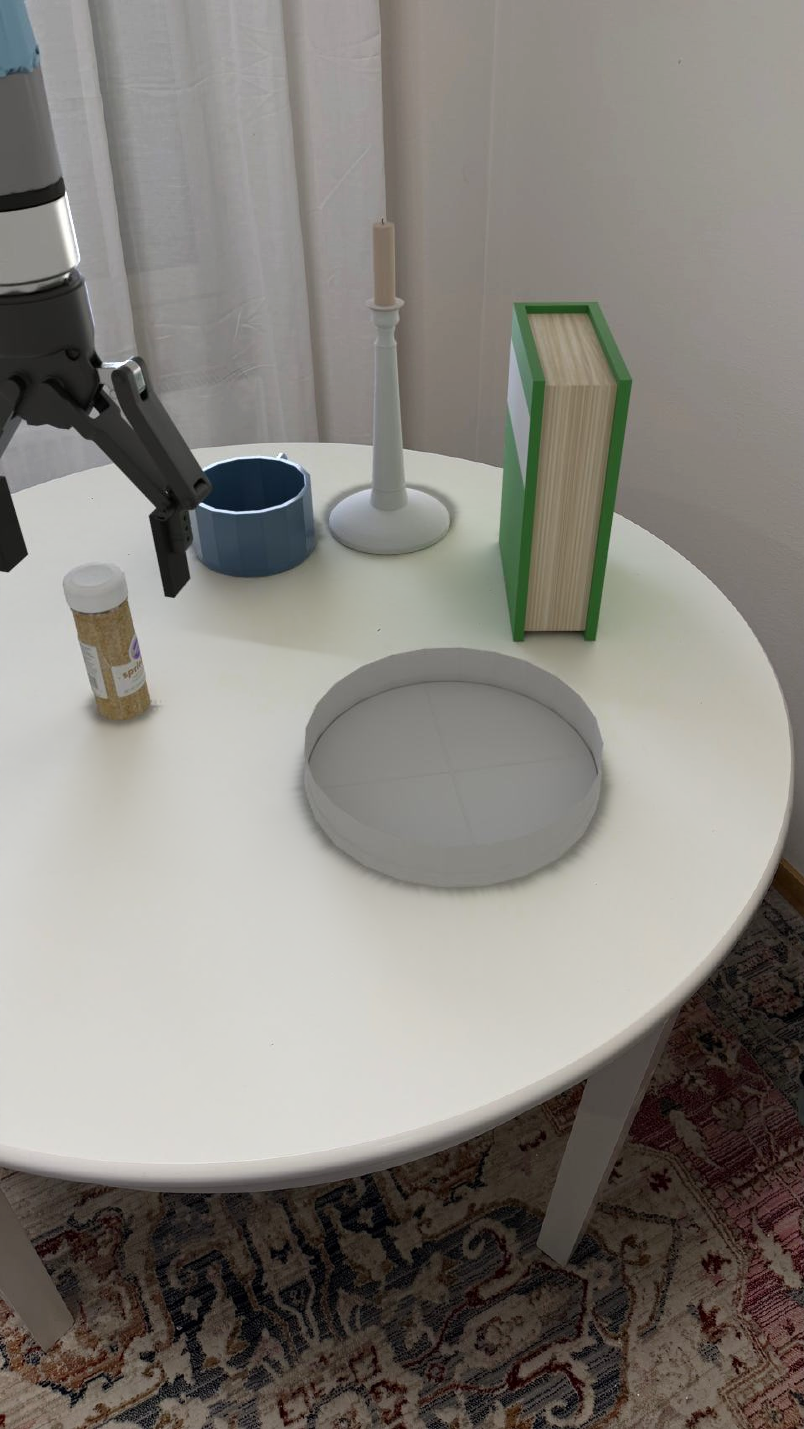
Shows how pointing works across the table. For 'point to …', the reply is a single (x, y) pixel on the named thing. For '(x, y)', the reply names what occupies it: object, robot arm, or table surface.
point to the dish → (453, 766)
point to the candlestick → (387, 440)
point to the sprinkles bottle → (107, 638)
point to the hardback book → (560, 464)
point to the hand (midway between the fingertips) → (94, 575)
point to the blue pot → (254, 517)
